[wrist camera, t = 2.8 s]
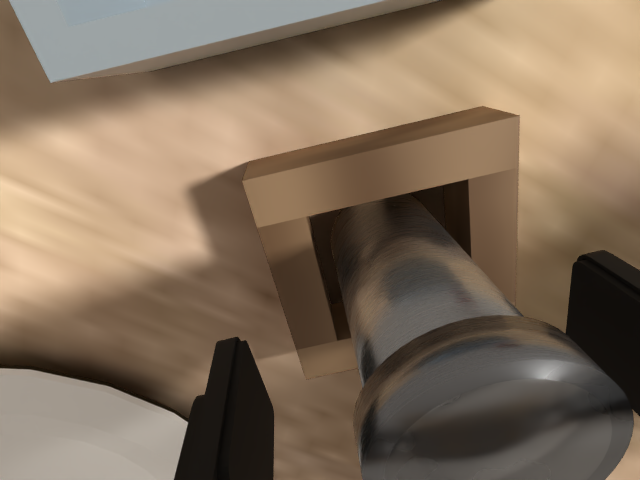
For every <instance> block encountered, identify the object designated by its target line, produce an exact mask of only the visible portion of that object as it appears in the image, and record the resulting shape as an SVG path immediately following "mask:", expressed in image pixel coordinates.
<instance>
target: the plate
mask: <svg viewBox="0 0 640 480" xmlns="http://www.w3.org/2000/svg"><path fill="white" fill-rule="evenodd" d="M188 421H189V420H188V419H187V418H186V417H184V416H183V415H181V414H180V413H178V412H177V411H175V410H173V409H171V408H168V407H166V406H164V405H161V404H159V403H156V402H154V401H152V400H149V399H147V398H144V397H142V396H139V395H137V394H135V393H132V392H130V391H127V390H125V389H123V388H120V387H118V386H115V385H113V384H110V383H106V382H101V381H96V380H92V379H87V378H83V377H78V376H73V375H69V374H64V373H60V372H55V371H50V370H46V369H41V368H37V367H26V366H2V365H0V480H174V477H175V473H176V469H177V465H178V461H179V457H180V453H181V449H182V445H183V441H184V437H185V433H186V429H187V425H188Z"/></svg>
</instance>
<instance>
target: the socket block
mask: <svg viewBox="0 0 640 480" xmlns="http://www.w3.org/2000/svg"><path fill="white" fill-rule="evenodd" d="M519 124H520V116H519V115H515V114H511V113H507V112H504V111H500V110H496V109H492V108H488V107H484V106H481V107H477V108H473V109H469V110H464V111H460V112H456V113H452V114H447V115H443V116H439V117H435V118H431V119H426V120H422V121H418V122H414V123H409V124H405V125H401V126H397V127H393V128H388V129H384V130H380V131H376V132H371V133H367V134H363V135H359V136H354V137H350V138H346V139H342V140H338V141H333V142H329V143H325V144H321V145H316V146H312V147H308V148H304V149H299V150H295V151H291V152H287V153H283V154H278V155H274V156H270V157H266V158H261V159H257V160H253V161H249V163H248V166H247V168H246V171H245V174H244V177H243V179H242V183H243V186H244V189H245V192H246V195H247V198H248V201H249V205H250V208H251V211H252V214H253V217H254V220H255V223H256V226H257V229H258V232H259V235H260V239H261V242H262V245H263V248H264V251H265V254H266V257H267V260H268V263H269V266H270V270H271V273H272V276H273V279H274V282H275V285H276V288H277V291H278V294H279V297H280V300H281V304H282V307H283V310H284V313H285V316H286V319H287V322H288V325H289V328H290V331H291V335H292V338H293V341H294V344H295V347H296V350H297V353H298V356H299V359H300V362H301V365H302V369H303V372H304V375H305V378H306V380H307V379H311V378H316V377H320V376H325V375H329V374H334V373H338V372H343V371H348V370H352V369H357V368H358V365H357V360H356V356H355V351H354V347H353V343H352V338H351V334H350V329H349V325H348V320H347V316H346V311H345V307H344V302H340V303H335V304H331V302H330V298H329V294H328V290H327V286H326V282H325V278H324V274H323V270H322V266H321V262H320V258H319V254H318V250H317V246H316V242H315V238H314V234H313V230H312V226H311V222H310V218H309V216H311V215H315V214H320V213H324V212H328V211H333V210H337V209H341V208H345V207H350V206H354V205H358V204H363V203H367V202H371V201H376V200H380V199H384V198H389V197H393V196H397V195H402V194H406V193H410V192H415V191H419V190H423V189H428V188H432V187H436V186H441V185H443V193H444V206H445V220H446V231H447V232H448V233H449V234H450V235H451V237H452V238H453V239H454V240H455V241H456V242H457V243H458V244H459V245H460V247H461V248H462V249H463V250H464V251H465V252H466V253H467V254H468V255H469V256H470V258H471V259H472V260H473V261H474V262H475V263H476V264H477V265H478V266H479V268H480V269H481V270H482V271H483V272H484V273H485V274H486V275H487V276H488V277H489V279H490V280H491V281H492V282H493V283H494V284H495V285H496V286H497V287H498V289H499V290H500V291H501V292H502V293H503V294H504V295H505V296H506V297H507V298H508V300H509V301H510V302H511V303H512V304H513V305H514V306H515V302H516V257H517V213H518V169H519Z"/></svg>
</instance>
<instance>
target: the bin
mask: <svg viewBox="0 0 640 480" xmlns="http://www.w3.org/2000/svg"><path fill="white" fill-rule="evenodd" d="M9 1H10V3H11V5H12V7H13V9H14V11H15V13H16V15H17V17H18V19H19V21H20V23H21V25H22V27H23V29H24V31H25V33H26V35H27V37H28V39H29V41H30V43H31V45H32V47H33V49H34V51H35V53H36V55H37V57H38V59H39V61H40V63H41V65H42V67H43V69H44V71H45V73H46V75H47V77H48V79H49V81H50V83H52V82H61V81H70V80H79V79H88V78H97V77H106V76H115V75H124V74H133V73H142V72H150V71H155V70H159V69H163V68H167V67H171V66H175V65H179V64H183V63H187V62H191V61H196V60H200V59H204V58H208V57H212V56H216V55H220V54H224V53H228V52H232V51H236V50H240V49H245V48H249V47H253V46H257V45H261V44H265V43H269V42H273V41H277V40H281V39H285V38H290V37H294V36H298V35H302V34H306V33H310V32H314V31H318V30H322V29H326V28H330V27H334V26H339V25H343V24H347V23H351V22H355V21H359V20H363V19H367V18H371V17H375V16H379V15H384V14H388V13H392V12H396V11H400V10H404V9H408V8H412V7H416V6H420V5H424V4H428V3H433V2H437V1H441V0H9Z"/></svg>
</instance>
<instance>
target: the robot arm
mask: <svg viewBox="0 0 640 480" xmlns="http://www.w3.org/2000/svg"><path fill="white" fill-rule="evenodd" d="M566 335H568V336H569V337H570V338H571V339H572V340H573V341H574V342H575V343H576V344H577V345H578V346H579V347H580V348H581V349H582V350H583V351H584V352H585V353H586V354H587V355H588V356H589V357H590V358H591V359H592V360H593V361H594V362H595V363H596V364H597V365H598V366H599V367H600V368H601V369H602V370H603V371H604V372H605V373H606V374H607V375H608V376H609V377H610V378H611V379H612V380H613V381H614V382H615V383H616V384H617V385H618V386H619V387H620V388H621V389H622V390H623V391H624V393H625V395H626V396H627V398H628V400H629V402H630V405H631V408H632V409H633V410H634V411H635V412H636V413H637V414H638V415H639V416H640V270H638V269H636V268H635V267H633V266H631V265H630V264H628V263H626V262H624V261H623V260H621V259H619V258H618V257H616V256H614V255H613V254H611V253H609V252H607V251H605V250H600V251H596V252H592V253H588V254H584V255H581V256H579V257H578V259H577V262H575V263H574V264H573V267H572V277H571V287H570V297H569V306H568V316H567V326H566ZM273 464H274V411H273V406H272V403H271V401H270V398H269V396H268V393H267V391H266V388H265V386H264V383H263V381H262V378H261V375H260V373H259V370H258V368H257V365H256V363H255V360H254V358H253V355H252V353H251V350H250V348H249V345H248V343H247V341H246V340H244V341H240V339H239V338H238V337H234V338H230V339H226V340H221V341H218V342H217V343H216V347H215V351H214V356H213V360H212V365H211V369H210V374H209V378H208V383H207V387H206V392H205V394H204V395H200V396H197V397H196V398H195V400H194V402H193V405H192V409H191V413H190V417H189V421H188V425H187V429H186V433H185V437H184V441H183V445H182V449H181V453H180V457H179V461H178V465H177V469H176V473H175V477H174V480H273Z"/></svg>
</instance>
